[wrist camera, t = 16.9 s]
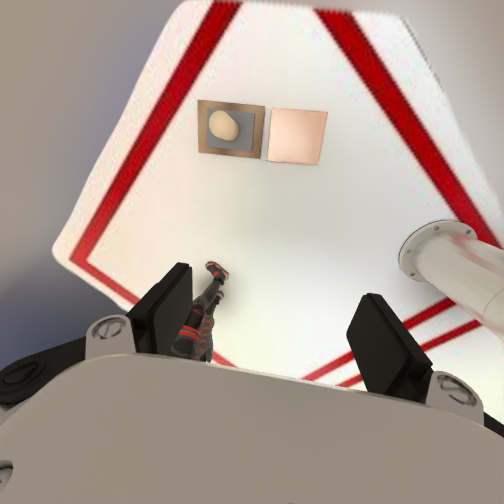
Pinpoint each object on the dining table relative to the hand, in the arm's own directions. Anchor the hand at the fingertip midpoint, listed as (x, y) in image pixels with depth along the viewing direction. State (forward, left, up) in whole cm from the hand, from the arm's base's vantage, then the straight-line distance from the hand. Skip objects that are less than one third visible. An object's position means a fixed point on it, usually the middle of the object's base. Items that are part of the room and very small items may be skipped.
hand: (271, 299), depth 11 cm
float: (+7, -10, -27) cm, 30 cm away
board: (+7, -10, -29) cm, 31 cm away
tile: (-7, -10, -28) cm, 30 cm away
